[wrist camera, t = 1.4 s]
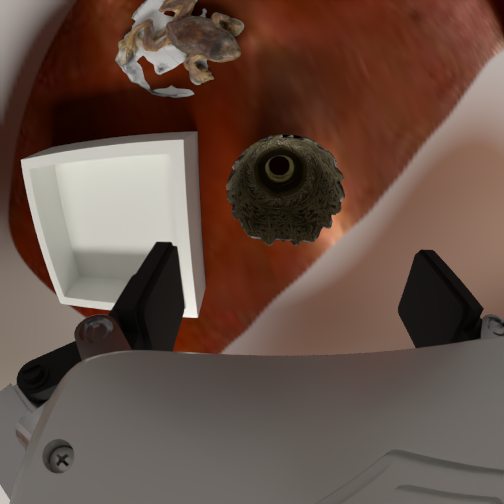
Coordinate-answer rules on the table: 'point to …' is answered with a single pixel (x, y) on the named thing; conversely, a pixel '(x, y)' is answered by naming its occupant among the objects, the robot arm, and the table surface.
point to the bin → (116, 213)
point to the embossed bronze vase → (285, 190)
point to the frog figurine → (177, 42)
